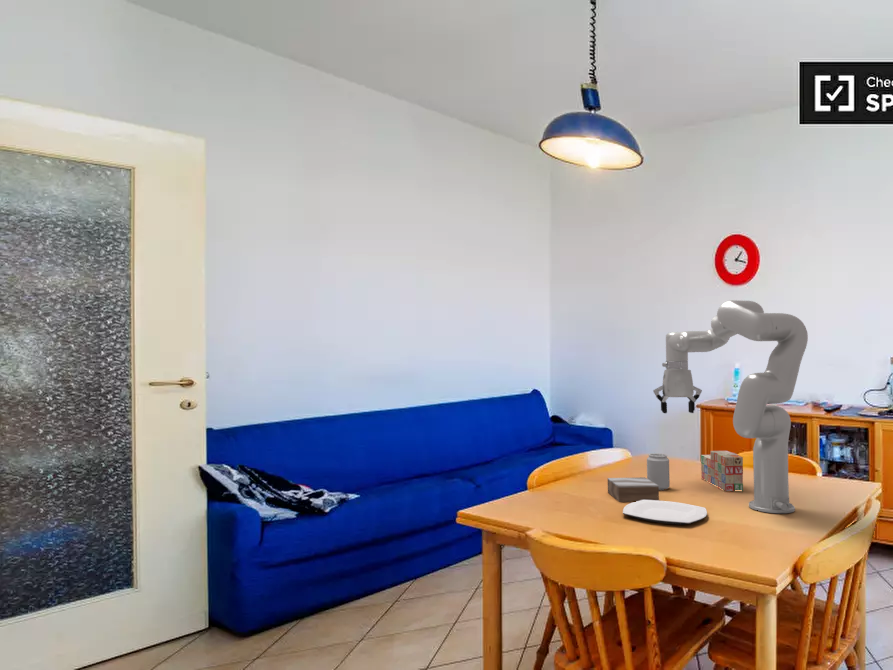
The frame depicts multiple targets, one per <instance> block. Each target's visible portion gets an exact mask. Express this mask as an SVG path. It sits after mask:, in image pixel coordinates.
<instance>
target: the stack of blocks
mask: <svg viewBox="0 0 893 670" xmlns="http://www.w3.org/2000/svg"><path fill="white" fill-rule="evenodd" d="M700 466H701V467H700V469H701V471H700V472H701V479H702V478H703V479H705V480H706V481H708V482H710V483H712V484H714V485H716V486H718V487H720V488H721V489H723V490H725V491H735V490H742V491H743V492H744V481H743V480H744V476H743V475H744V457H743V456H741V455H739V454H737V453H735V452H731V451H728V450H710V454H700ZM703 479H702V480H703ZM705 480H704V481H705ZM706 481H705V482H706ZM708 482H707V483H708ZM710 483H709V484H710ZM712 484H711V485H712ZM721 489H720V490H721Z"/></svg>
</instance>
